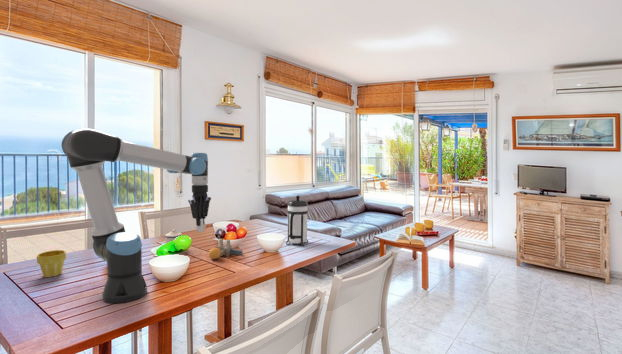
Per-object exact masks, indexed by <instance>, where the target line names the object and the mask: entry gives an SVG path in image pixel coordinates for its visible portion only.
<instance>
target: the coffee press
mask: <svg viewBox="0 0 622 354" xmlns="http://www.w3.org/2000/svg"><path fill="white" fill-rule="evenodd" d="M308 207H309V203H308V201H307V200H305V199H301V198H300V196H299V195H296V197H295V198H294V199H290V200H288V202H287V241H285V245H286V246H289V245H290V244H297V245H298V244H300V247H305V246H304V245H305V244H304V243H308V242H309V240H308V213H309V212H308V211H309V210H308Z"/></svg>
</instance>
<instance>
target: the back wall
mask: <svg viewBox="0 0 622 354" xmlns="http://www.w3.org/2000/svg"><path fill="white" fill-rule="evenodd" d="M224 248H225V246H223V249H224ZM230 255H235V256H243V250H242V249H237V248H232V247H231V248H230Z"/></svg>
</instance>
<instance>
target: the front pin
mask: <svg viewBox="0 0 622 354" xmlns="http://www.w3.org/2000/svg"><path fill="white" fill-rule="evenodd" d="M230 248H232V245H231V244H230ZM223 255H225V248H224V249H222V250H221V255H220V257H223ZM220 257H219V258H220Z"/></svg>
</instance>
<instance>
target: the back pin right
mask: <svg viewBox="0 0 622 354" xmlns="http://www.w3.org/2000/svg"><path fill="white" fill-rule="evenodd" d="M224 243H225V246H224V247H225V254H224V255H225V257H226V258H227V257H228V258H229V257H231V254H230V245H231V239H230V240H229V239H226V240H225V242H224Z"/></svg>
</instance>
